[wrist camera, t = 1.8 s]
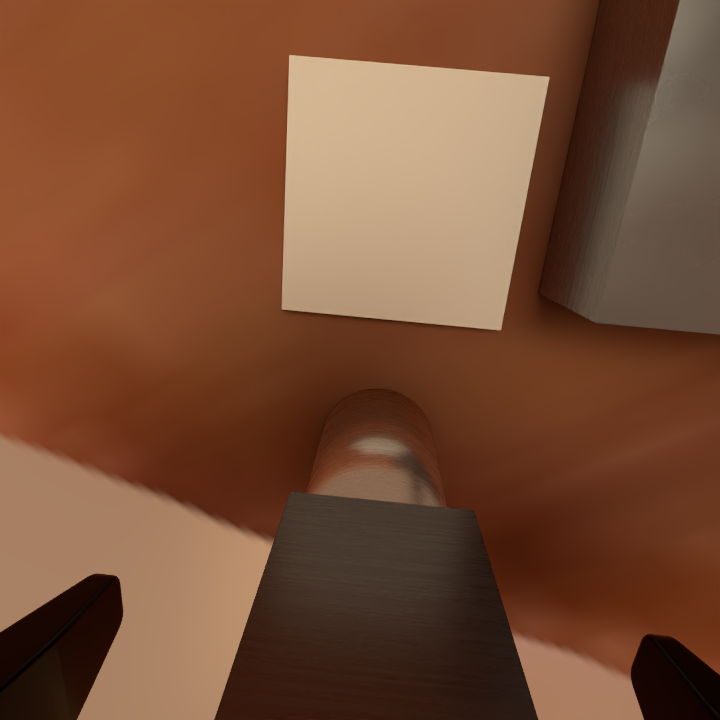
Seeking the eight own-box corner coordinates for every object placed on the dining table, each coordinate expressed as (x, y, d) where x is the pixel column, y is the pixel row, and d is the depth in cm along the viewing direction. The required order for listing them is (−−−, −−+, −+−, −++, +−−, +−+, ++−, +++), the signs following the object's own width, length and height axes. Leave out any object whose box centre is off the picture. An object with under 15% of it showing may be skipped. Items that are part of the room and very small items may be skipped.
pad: (540, 83, 11) (549, 76, 10) (495, 325, 13) (501, 330, 12) (294, 63, 11) (289, 55, 10) (286, 305, 13) (281, 309, 12)
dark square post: (438, 394, 13) (552, 767, 4) (423, 490, 14) (491, 950, 5) (326, 383, 13) (212, 727, 4) (319, 480, 15) (216, 916, 6)
